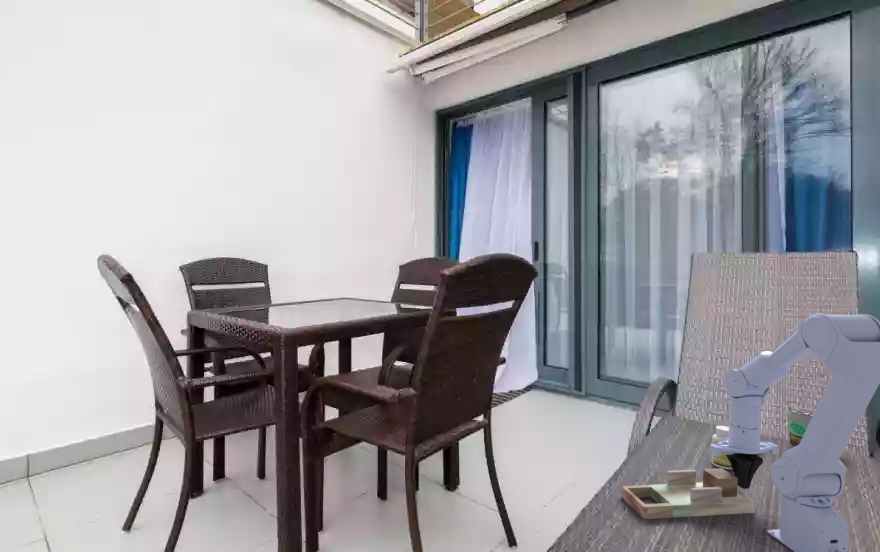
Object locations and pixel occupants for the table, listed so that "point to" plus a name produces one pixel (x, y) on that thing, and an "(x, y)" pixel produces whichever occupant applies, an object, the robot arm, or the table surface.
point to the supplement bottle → (718, 438)
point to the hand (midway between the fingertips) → (742, 486)
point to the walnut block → (721, 481)
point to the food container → (797, 424)
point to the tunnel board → (683, 498)
